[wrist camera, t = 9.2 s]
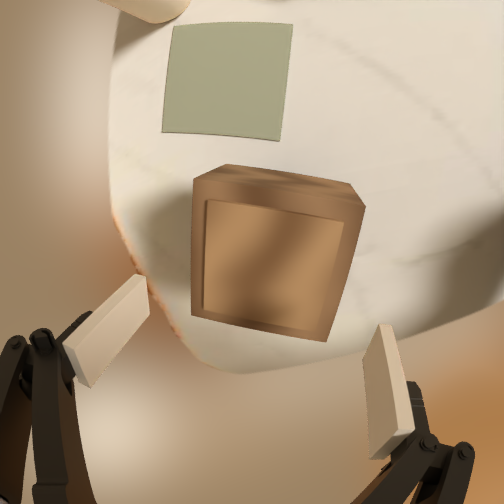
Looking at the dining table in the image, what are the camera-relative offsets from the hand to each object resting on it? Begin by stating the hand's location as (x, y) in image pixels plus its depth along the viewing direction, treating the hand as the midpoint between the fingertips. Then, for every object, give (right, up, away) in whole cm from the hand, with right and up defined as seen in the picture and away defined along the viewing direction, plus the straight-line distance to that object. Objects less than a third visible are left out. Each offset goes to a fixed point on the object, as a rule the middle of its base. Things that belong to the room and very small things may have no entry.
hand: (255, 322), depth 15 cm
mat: (-4, +26, +16) cm, 31 cm away
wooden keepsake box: (+2, +6, +13) cm, 14 cm away
